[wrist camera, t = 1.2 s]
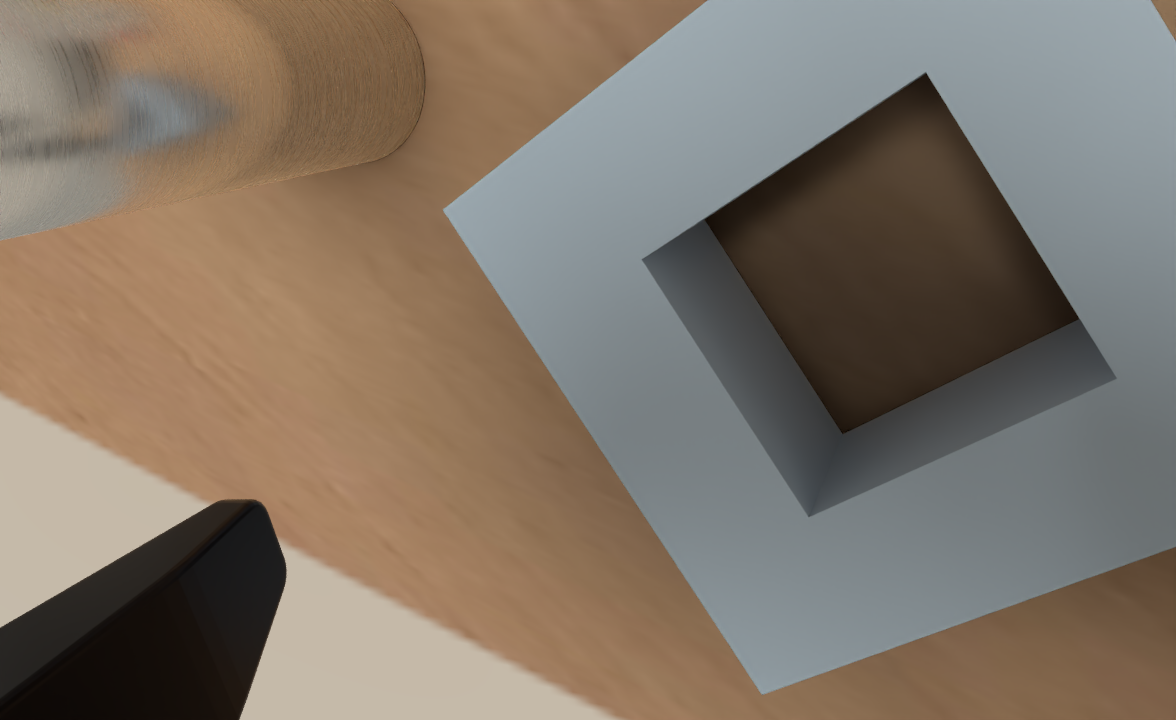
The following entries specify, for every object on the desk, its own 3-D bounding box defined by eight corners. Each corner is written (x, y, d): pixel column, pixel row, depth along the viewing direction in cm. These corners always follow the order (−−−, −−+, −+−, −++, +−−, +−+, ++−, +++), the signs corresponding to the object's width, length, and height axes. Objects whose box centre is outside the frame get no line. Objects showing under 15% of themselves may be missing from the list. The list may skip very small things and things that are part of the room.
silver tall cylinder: (456, 97, 22) (-255, 189, 10) (343, 194, 24) (-369, 376, 11) (356, -57, 22) (-502, -164, 9) (250, 54, 24) (-576, 85, 11)
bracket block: (1341, 367, 17) (1428, 456, 13) (801, 589, 22) (762, 694, 19) (1007, -181, 16) (1006, -237, 13) (534, 180, 22) (443, 209, 18)
